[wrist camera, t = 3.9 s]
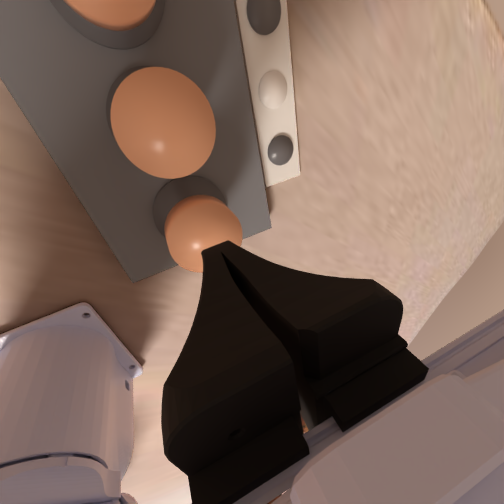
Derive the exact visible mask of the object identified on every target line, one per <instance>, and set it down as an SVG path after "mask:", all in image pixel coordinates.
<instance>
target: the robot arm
mask: <svg viewBox="0 0 504 504" xmlns="http://www.w3.org/2000/svg"><path fill="white" fill-rule="evenodd" d="M201 255H202V259H203V280H202V288H201V295H200V300H199V304H198V308H197V312H196V315H195V318H194V322H193V325H192V328H191V330H190V333H189V335H188V338H187V340H186V342H185V345H184V347H183V349H182V352H181V354H180V356H179V358H178V360H177V362H176V363H175V365H174V367H173V369H172V371H171V373H170V375H169V376H168V378H167V380H166V382H165V384H164V387H163V397H162V416H161V424H162V435H163V445H164V454H165V456H166V457H167V459H168V460H169V461H170V462H171V463H173V464H174V465H175V466H176V467H178V468H179V469H180V470H181V471H183V472H184V473H185V474H186V475H188V479H189V486H190V492H191V499H192V504H267V503H269V502H270V501H272V500H273V499H275V498H276V497H278V496H279V495H281V494H282V493H284V492H285V491H286V490H287V491H286V492H285V493H284V494H282V495H281V496H280V497H279V498H277V499H276V500H275V501H274V502H272V503H271V504H504V310H502V311H501V312H499V313H497V314H496V315H494V316H493V317H491V318H489V319H488V320H486V321H485V322H483V323H481V324H480V325H478V326H476V327H475V328H473V329H472V330H470V331H468V332H467V333H465V334H464V335H462V336H460V337H459V338H457V339H456V340H454V341H452V342H451V343H449V344H447V345H446V346H444V347H443V348H441V349H439V350H438V351H436V352H435V353H433V354H431V355H430V356H428V357H427V358H425V359H423V360H422V361H420V360H419V359H418V358H417V357H416V356H414V355H413V354H412V353H411V352H410V351H409V350H408V349H407V348H406V347H407V346H408V344H407V342H406V341H405V340H404V339H403V338H402V337H401V336H399V335H398V331H399V327H400V323H401V320H402V315H403V305H402V301H401V300H400V299H399V298H398V297H397V296H395V295H394V294H393V293H391V292H390V291H389V290H387V289H386V288H385V287H383V286H382V285H380V284H379V283H377V282H376V281H374V280H373V279H354V278H339V277H331V276H323V275H317V274H312V273H307V272H302V271H298V270H294V269H291V268H287V267H284V266H281V265H278V264H275V263H272V262H270V261H267V260H265V259H263V258H261V257H259V256H257V255H254V254H252V253H250V252H249V251H247V250H245V249H243V248H241V247H239V246H238V245H236V244H234V243H233V242H231V241H229V240H227V241H225V242H222V243H219V244H217V245H214V246H212V247H209V248H207V249H204V250H202V252H201ZM84 313H89V315H84ZM131 365H132V366H131ZM142 373H143V367H142V366H141V365H140V364H139V362H138V361H137V360H136V359H135V358H134V357H133V355H132V354H131V353H130V352H129V351H128V349H127V348H126V347H125V346H124V345H123V343H122V342H121V341H120V340H119V339H118V337H117V336H116V335H115V334H114V333H113V332H112V330H111V329H110V328H109V327H108V326H107V324H106V323H105V322H104V321H103V320H102V318H101V317H100V316H99V315H98V314H97V313H96V311H95V310H94V309H93V308H92V307H91V305H89V304H88V303H78V304H76V305H73V306H71V307H68V308H66V309H63V310H61V311H58V312H56V313H53V314H51V315H48V316H46V317H43V318H40V319H38V320H35V321H33V322H30V323H28V324H25V325H23V326H20V327H18V328H15V329H13V330H10V331H8V332H5V333H3V334H0V504H138V503H137V501H136V500H135V499H134V497H132V496H131V495H130V494H126V493H121V481H122V479H123V477H124V475H125V473H126V470H127V468H128V466H129V463H130V460H131V456H132V452H133V446H134V420H133V378H135V377H137V376H139V375H141V374H142ZM300 414H301V415H300ZM301 416H302V418H303V420H304V422H305V424H306V426H307V428H308V430H309V431H308V432H306V433H304V432H303V426H302V421H301ZM289 488H290V489H289ZM288 489H289V490H288Z"/></svg>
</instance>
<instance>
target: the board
mask: <svg viewBox="0 0 504 504" xmlns="http://www.w3.org/2000/svg"><path fill="white" fill-rule="evenodd" d="M147 67H164V68H169V69H172V70H175V71H177V72H179V73H181V74H183V75H185V76H186V77H188V78H189V79H190V80H192V81H193V82H194V83H195V84H196V85H197V86H198V87H199V88H200V89H201V91H202V92H203V93H204V95H205V96H206V98H207V100H208V102H209V104H210V106H211V108H212V111H213V114H214V119H215V126H216V137H215V143H214V146H213V150H212V152H211V154H210V156H209V158H208V159H207V161H206V162H205V163H204V165H203V166H201V167H200V168H199V169H198V170H197V171H195V172H194V173H192V174H190V175H188V176H185V177H181V178H175V179H166V178H160V177H156V176H153V175H150V174H148V173H146V172H144V171H142V170H141V169H139V168H138V167H137V166H135V165H134V164H133V163H132V162H131V161H130V160H129V159H128V158H127V157H126V156H125V154H124V153H123V152H122V150H121V149H120V147H119V145H118V143H117V141H116V139H115V136H114V134H113V130H112V125H111V104H112V100H113V97H114V94H115V92H116V90H117V88H118V87H119V85H120V84H121V82H122V81H123V80H124V79H125V78H126V77H128V76H129V75H130V74H132V73H133V72H135V71H137V70H140V69H143V68H147ZM0 78H1V80H2V81H3V83H4V84H5V86H6V87H7V89H8V90H9V92H10V94H11V95H12V97H13V98H14V100H15V101H16V103H17V104H18V106H19V107H20V109H21V111H22V112H23V114H24V115H25V117H26V118H27V120H28V121H29V123H30V125H31V126H32V128H33V129H34V131H35V132H36V134H37V135H38V137H39V139H40V140H41V142H42V143H43V145H44V146H45V148H46V149H47V151H48V152H49V154H50V156H51V157H52V159H53V160H54V162H55V163H56V165H57V166H58V168H59V170H60V171H61V173H62V174H63V176H64V177H65V179H66V180H67V182H68V183H69V185H70V187H71V188H72V190H73V191H74V193H75V194H76V196H77V197H78V199H79V201H80V202H81V204H82V205H83V207H84V208H85V210H86V211H87V213H88V215H89V216H90V218H91V219H92V221H93V222H94V224H95V225H96V227H97V228H98V230H99V232H100V233H101V235H102V236H103V238H104V239H105V241H106V242H107V244H108V246H109V247H110V249H111V250H112V252H113V253H114V255H115V256H116V258H117V259H118V261H119V263H120V264H121V266H122V267H123V269H124V270H125V272H126V273H127V275H128V277H129V278H130V280H131V281H132V283H134V282H137V281H139V280H142V279H144V278H147V277H150V276H152V275H155V274H157V273H160V272H162V271H165V270H167V269H170V268H172V267H175V266H177V265H178V264H177V263H176V262H175V261H174V259H173V258H172V256H171V254H170V252H169V248H168V245H167V241H166V237H165V232H164V226H165V221H166V218H167V215H168V214H169V212H170V210H171V209H172V208H173V207H174V206H175V205H176V204H177V203H178V202H180V201H181V200H183V199H185V198H187V197H190V196H194V195H209V196H213V197H215V198H217V199H219V200H221V201H222V202H223V203H224V204H225V205H226V206H227V207H228V208H229V209H230V210H231V211H232V212H233V213H234V214H235V216H236V217H237V218H238V220H239V222H240V224H241V227H242V234H243V236H242V239H245V238H247V237H250V236H252V235H255V234H257V233H260V232H262V231H265V230H267V229H270V228H272V227H271V221H270V215H269V209H268V203H267V197H266V191H265V185H264V179H263V173H262V167H261V161H260V156H259V150H258V144H257V138H256V132H255V126H254V120H253V114H252V108H251V102H250V96H249V90H248V84H247V78H246V72H245V66H244V60H243V54H242V48H241V42H240V36H239V30H238V24H237V18H236V12H235V6H234V0H156V2H155V5H154V8H153V10H152V12H151V14H150V15H149V17H148V18H147V19H146V20H145V21H144V22H143V23H142V24H140V25H139V26H137V27H135V28H133V29H130V30H126V31H112V30H108V29H104V28H101V27H99V26H96V25H94V24H92V23H90V22H89V21H87V20H86V19H84V18H83V17H81V16H80V15H79V14H77V13H76V12H75V11H74V10H73V9H72V8H71V7H70V6H68V5H67V4H66V3H65V1H64V0H0Z"/></svg>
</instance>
